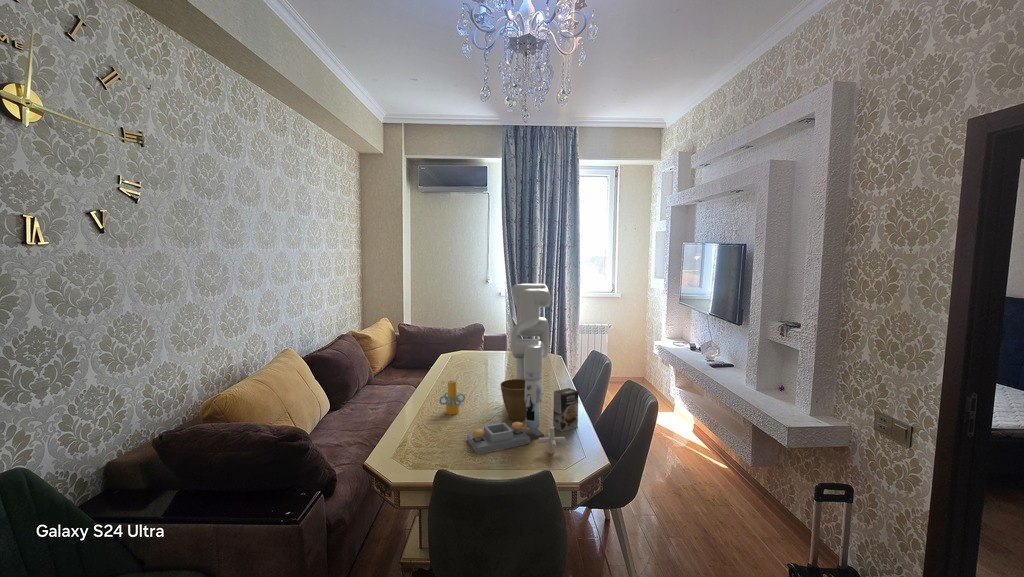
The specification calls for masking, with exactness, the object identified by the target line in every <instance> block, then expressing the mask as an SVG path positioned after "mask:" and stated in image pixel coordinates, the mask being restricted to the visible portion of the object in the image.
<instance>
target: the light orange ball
mask: <svg viewBox="0 0 1024 577" xmlns="http://www.w3.org/2000/svg"><path fill="white" fill-rule="evenodd" d="M523 424H524V423H523V422H520V421H514V422H512V423H511V426H512V429H514V434H515V435H516V434H521V430H523V429H524V425H523Z"/></svg>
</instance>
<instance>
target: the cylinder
mask: <svg viewBox="0 0 1024 577" xmlns="http://www.w3.org/2000/svg"><path fill="white" fill-rule="evenodd" d="M460 396H462V400H461V398H460ZM443 398H444V400H445V402H443V401H442V399H443ZM465 399H466V395H465V394H464V393H458V392H457V380H455V379H452V380H451V379H450V380H447V392H445V393H444V395H442V396H441V397H440V398H439V403H440V405H443V406H444V405H445V413H446V415H451V416H452V415H457V414H459V412H460V408H459V407H460V405H461V403H464V401H465Z"/></svg>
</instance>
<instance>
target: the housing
mask: <svg viewBox="0 0 1024 577" xmlns="http://www.w3.org/2000/svg"><path fill="white" fill-rule="evenodd" d="M483 430H484V436H483V437H482V441H481V442H476V443H475V437H473V432H471V433H467V434H466V441H467V442H468V443H469V445H470V446H471V447H472V449H473V450H474V451H475V453H476V454H477V455H480V454H485V453H489V452H495V451H499V450H504V449H509V448H514V447H518V446H523V445H527V444H530V443H531V439H530V437H529V436H528V435H527V434H526V433H525V432H524V431H522V430H523V429H521V434H516V435H515V434H514V429H512V425H508V424H506V423H505V422H499V423H494V424H489V425H483Z"/></svg>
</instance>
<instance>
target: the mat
mask: <svg viewBox="0 0 1024 577" xmlns="http://www.w3.org/2000/svg"><path fill="white" fill-rule="evenodd" d="M521 430H522V431H524V432H525V433H526V434H527V435H528V436H529V437H530V440H534V439H539V438H545V434H544V432H542V431H541V430H540V429H538V428H536V429H530V428H528V429H524V430H523V429H521Z"/></svg>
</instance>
